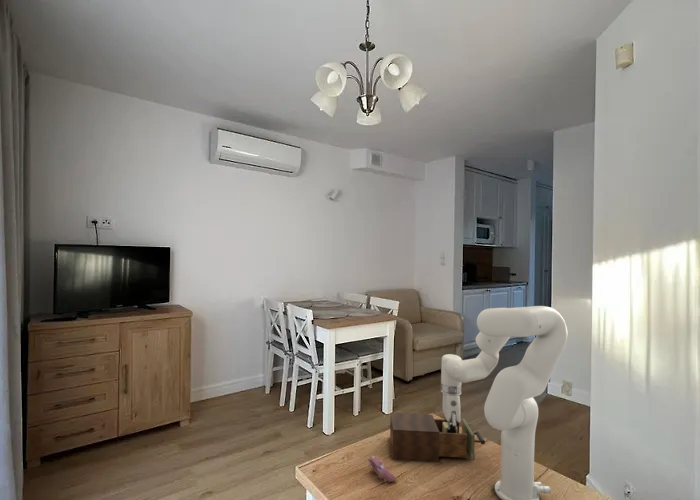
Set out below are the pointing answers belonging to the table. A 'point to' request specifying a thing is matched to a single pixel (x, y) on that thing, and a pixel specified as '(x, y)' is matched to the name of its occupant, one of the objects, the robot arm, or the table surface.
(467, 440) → the drawer
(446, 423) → the block
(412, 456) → the cabinet
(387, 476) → the pink rounded piece
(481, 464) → the table surface
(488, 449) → the table surface
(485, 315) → the robot arm
